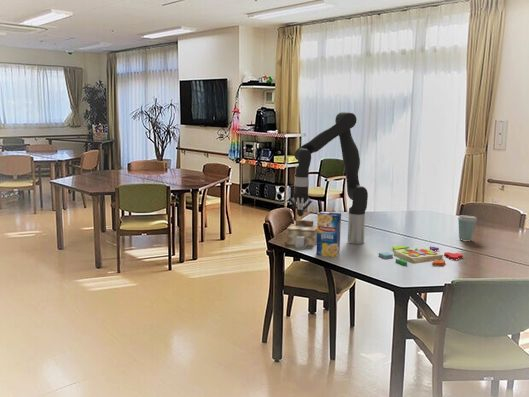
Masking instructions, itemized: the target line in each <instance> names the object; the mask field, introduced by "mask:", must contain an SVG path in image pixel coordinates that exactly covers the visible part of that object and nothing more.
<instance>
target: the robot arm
mask: <svg viewBox="0 0 529 397" xmlns="http://www.w3.org/2000/svg"><path fill="white" fill-rule="evenodd" d="M356 123H357V116H356V115H355V114H354V113H353V112H351V111H341V112H338V113H337V114H336V116H335V124H334V125H332V126H331V127H329V128H327V129H325V130H323V131H322V132H320V133H318V134H317V135H316V136H314V137H313V138H312V139H311V140H309V141H308V142H306V143H305V144H303V145H301V146H300V147H298V148H297V149H296V150H295V152H294V158H295V160H296V161H298V165H297V166H296V167H295V178H294V192H293V193H294V194H293V197H292V198H289V202H290V203H291V204H292V206H293V208H294V209H296V210H297V216H298V217H303V216H304V210H306V209H307V208H308V207H309V206H310V205H311V204H312V202H313V200H312V199H311V198H310V196H309V186H310V183H309V173H310V172H309V170H310V166H311V162H312V154H314V153H317V152H318V151H320V150H321V149H322V148H324V147H325V146H326V145H328V144H329V143H330V142H332V141H333V140H334V139H336V138H337V137H338V138H339V142H340V148H341V154H342V155H341V157H342V162H343V167H344V174H345V179H346V191H347V192H346V193H347V197H348V198H349V199H350V200H351V202H352V205H351V206H350V207H349V209H348V221H347V222H348V223H347V243H349V244H353V245H363V244H364V243H365V229H366V226H365V223H366V220H365V219H366V210H367V208H368V207H367V206H368V200H369V199H368V197H369V193H368V189H367V188H366V187H365V186H362V185H360V180H359V170H360V166H361V165H360V164H361V159H360V153H359V149H358V146H357V145H356V143H355V141H354V139H353V136H352V132H351V129H352V128H354V127H355V126H356ZM305 203H306V204H305Z"/></svg>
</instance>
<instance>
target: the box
mask: <svg viewBox="0 0 529 397" xmlns="http://www.w3.org/2000/svg"><path fill="white" fill-rule="evenodd" d="M297 236H305V245H307V247H315V246H316V245H317V230H316V231H315V232H309V231H297V230H287V229H286V243H285V244H286V245H294V246H295V245H296V237H297ZM315 244H316V245H315Z"/></svg>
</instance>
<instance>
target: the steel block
mask: <svg viewBox="0 0 529 397" xmlns="http://www.w3.org/2000/svg"><path fill="white" fill-rule="evenodd" d="M294 246H295V247H294V248H295V249H302V248H304V249H305V247H306V246H305V236H297V237H296V245H294Z"/></svg>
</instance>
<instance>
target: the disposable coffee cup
mask: <svg viewBox="0 0 529 397" xmlns="http://www.w3.org/2000/svg"><path fill="white" fill-rule="evenodd" d="M457 217H458V218H457V219H458V220H457V222H458V238H459V240H460V239H462V240H471V241H472V239H473V235H474V232H475V228H476V225H477V221H478V218H477V217H476V216H472V215H465V214H463V215H462V214H460V215H459V216H457Z"/></svg>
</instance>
